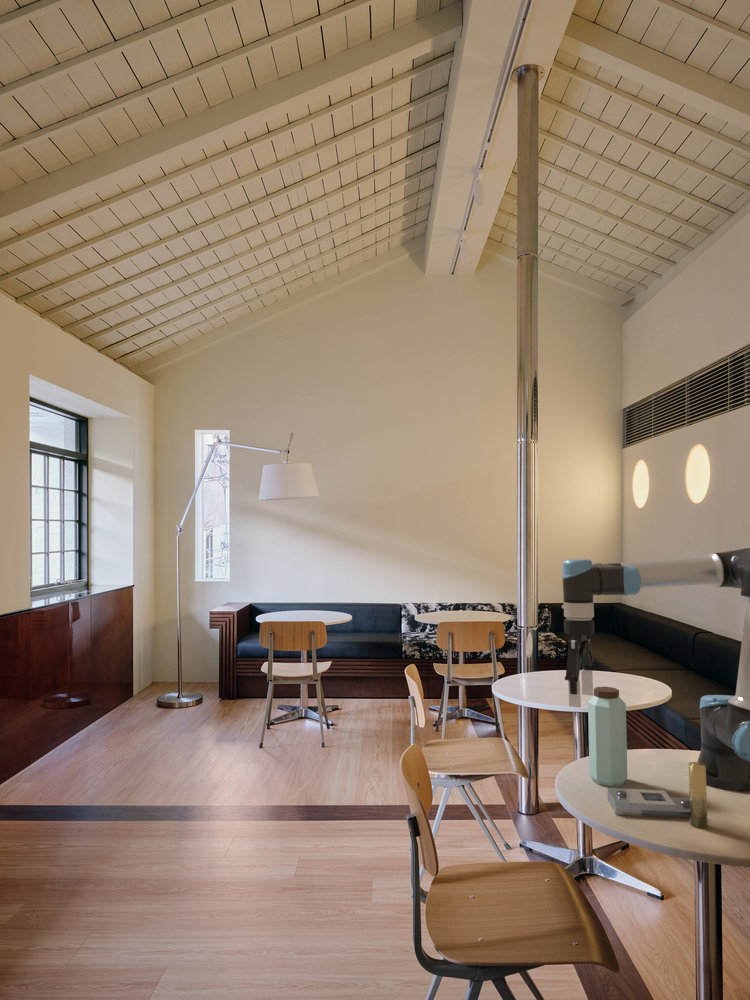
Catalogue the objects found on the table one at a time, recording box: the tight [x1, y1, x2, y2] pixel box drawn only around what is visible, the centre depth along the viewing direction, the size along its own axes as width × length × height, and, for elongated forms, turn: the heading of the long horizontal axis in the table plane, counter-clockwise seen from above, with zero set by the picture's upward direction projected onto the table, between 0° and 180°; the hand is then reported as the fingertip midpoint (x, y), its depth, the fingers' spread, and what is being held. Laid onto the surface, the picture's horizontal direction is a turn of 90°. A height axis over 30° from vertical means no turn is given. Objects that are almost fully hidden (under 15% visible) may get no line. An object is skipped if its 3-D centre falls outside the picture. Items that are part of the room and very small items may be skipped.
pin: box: [688, 761, 708, 830], centre depth 154 cm, size 4×4×14 cm
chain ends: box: [607, 787, 690, 820], centre depth 163 cm, size 20×9×4 cm, turn 82°
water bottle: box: [587, 686, 628, 787], centre depth 182 cm, size 10×10×25 cm
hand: (581, 700), depth 171 cm, fingers open, 13 cm apart
